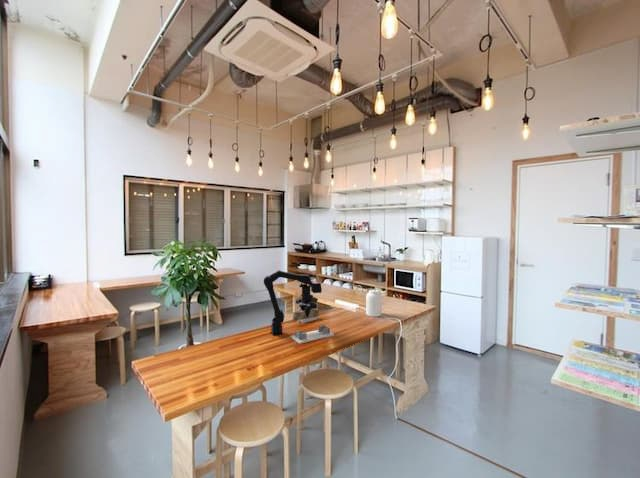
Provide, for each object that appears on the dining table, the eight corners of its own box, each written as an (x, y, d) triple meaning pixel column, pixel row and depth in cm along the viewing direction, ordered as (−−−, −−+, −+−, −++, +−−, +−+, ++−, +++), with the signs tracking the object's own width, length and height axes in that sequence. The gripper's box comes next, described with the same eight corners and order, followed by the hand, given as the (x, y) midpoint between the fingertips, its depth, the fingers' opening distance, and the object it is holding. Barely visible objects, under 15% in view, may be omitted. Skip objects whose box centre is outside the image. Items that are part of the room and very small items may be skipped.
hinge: (301, 323, 224) (299, 309, 225) (298, 324, 227) (295, 310, 229) (318, 318, 235) (315, 305, 237) (314, 319, 238) (312, 306, 240)
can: (363, 313, 249) (363, 289, 248) (375, 311, 255) (376, 288, 254) (371, 317, 238) (372, 292, 237) (384, 315, 243) (385, 291, 242)
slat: (295, 320, 200) (295, 313, 199) (293, 319, 202) (293, 312, 202) (318, 316, 209) (318, 309, 208) (316, 315, 211) (316, 308, 211)
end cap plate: (299, 343, 186) (299, 336, 186) (290, 337, 196) (290, 330, 196) (334, 335, 200) (334, 328, 200) (324, 329, 210) (324, 323, 210)
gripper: (323, 294, 201) (323, 317, 202) (308, 289, 217) (308, 310, 217) (309, 296, 195) (309, 320, 196) (295, 291, 210) (295, 313, 211)
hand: (306, 316), depth 205 cm, fingers closed on slat, 3 cm apart
